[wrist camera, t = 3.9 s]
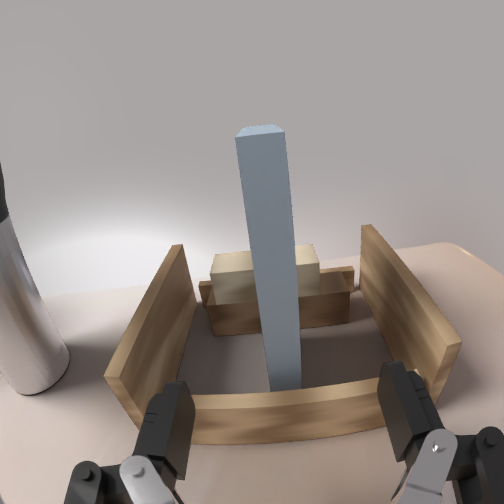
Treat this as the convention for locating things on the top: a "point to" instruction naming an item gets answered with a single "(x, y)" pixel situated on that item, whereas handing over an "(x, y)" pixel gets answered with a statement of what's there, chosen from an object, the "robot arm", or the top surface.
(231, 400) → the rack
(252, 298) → the offcut stack
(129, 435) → the top surface
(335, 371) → the top surface
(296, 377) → the panel
